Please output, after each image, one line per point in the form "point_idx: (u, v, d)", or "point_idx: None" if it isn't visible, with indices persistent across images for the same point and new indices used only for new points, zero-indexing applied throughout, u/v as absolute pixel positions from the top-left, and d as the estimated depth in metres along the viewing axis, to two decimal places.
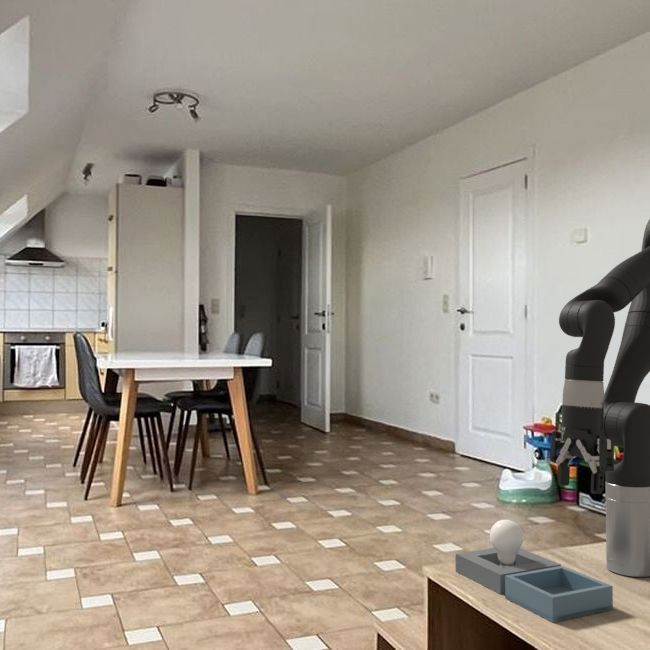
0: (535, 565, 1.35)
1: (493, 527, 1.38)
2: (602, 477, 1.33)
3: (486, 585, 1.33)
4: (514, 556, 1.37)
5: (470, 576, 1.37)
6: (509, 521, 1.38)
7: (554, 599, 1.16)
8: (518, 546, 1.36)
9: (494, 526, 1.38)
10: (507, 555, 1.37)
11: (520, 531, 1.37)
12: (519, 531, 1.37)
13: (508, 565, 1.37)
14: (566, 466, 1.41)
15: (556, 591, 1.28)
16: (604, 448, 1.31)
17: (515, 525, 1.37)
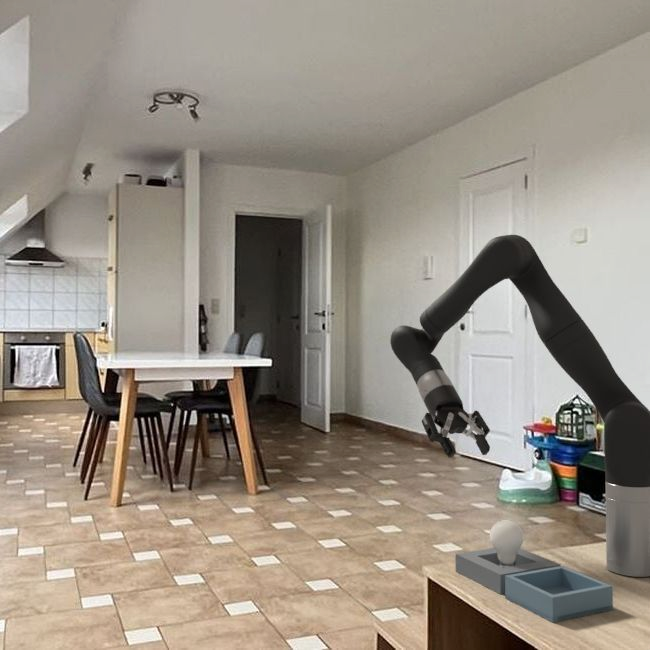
0: (535, 565, 1.35)
1: (493, 527, 1.38)
2: (443, 442, 1.49)
3: (486, 585, 1.33)
4: (514, 556, 1.37)
5: (470, 576, 1.37)
6: (509, 521, 1.38)
7: (554, 599, 1.16)
8: (518, 546, 1.36)
9: (494, 526, 1.38)
10: (507, 555, 1.37)
11: (520, 531, 1.37)
12: (519, 531, 1.37)
13: (508, 565, 1.37)
14: (478, 437, 1.53)
15: (556, 591, 1.28)
16: None
17: (515, 525, 1.37)
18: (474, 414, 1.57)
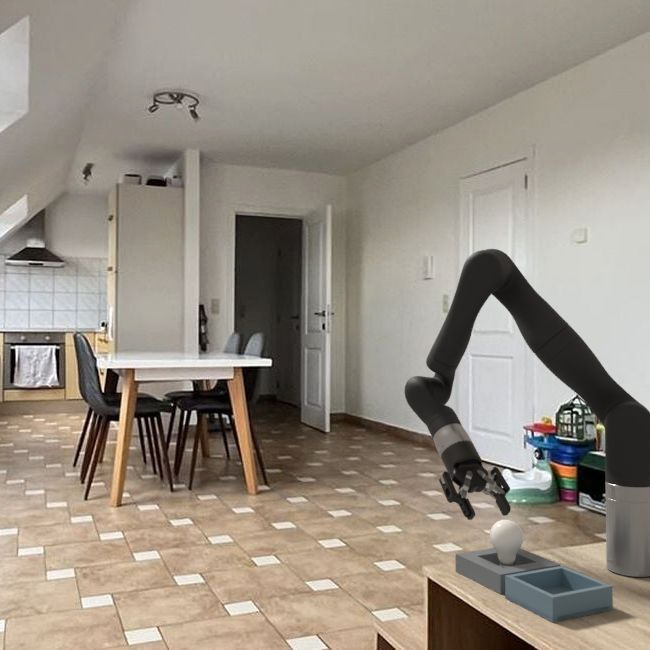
0: (535, 565, 1.35)
1: (493, 527, 1.38)
2: (462, 503, 1.43)
3: (486, 585, 1.33)
4: (514, 556, 1.37)
5: (470, 576, 1.37)
6: (509, 521, 1.38)
7: (554, 599, 1.16)
8: (518, 546, 1.36)
9: (494, 526, 1.38)
10: (507, 555, 1.37)
11: (520, 531, 1.37)
12: (519, 531, 1.37)
13: (508, 565, 1.37)
14: (498, 497, 1.47)
15: (556, 591, 1.28)
16: (441, 485, 1.47)
17: (515, 525, 1.37)
18: (493, 471, 1.51)
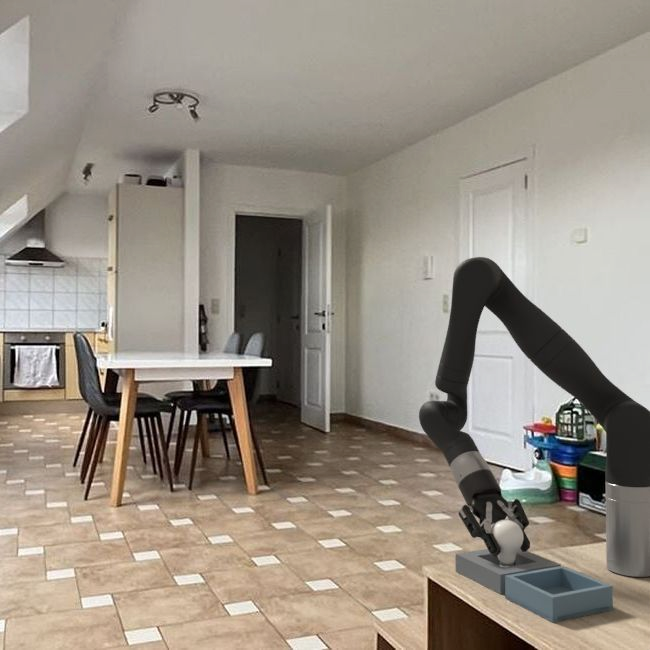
0: (535, 565, 1.35)
1: (493, 527, 1.38)
2: (486, 539, 1.37)
3: (486, 585, 1.33)
4: (514, 556, 1.37)
5: (470, 576, 1.37)
6: (509, 521, 1.38)
7: (554, 599, 1.16)
8: (518, 546, 1.36)
9: (494, 526, 1.38)
10: (507, 555, 1.37)
11: (520, 531, 1.37)
12: (518, 531, 1.37)
13: (508, 565, 1.37)
14: None
15: (556, 591, 1.28)
16: (462, 519, 1.41)
17: (515, 525, 1.37)
18: (514, 503, 1.45)
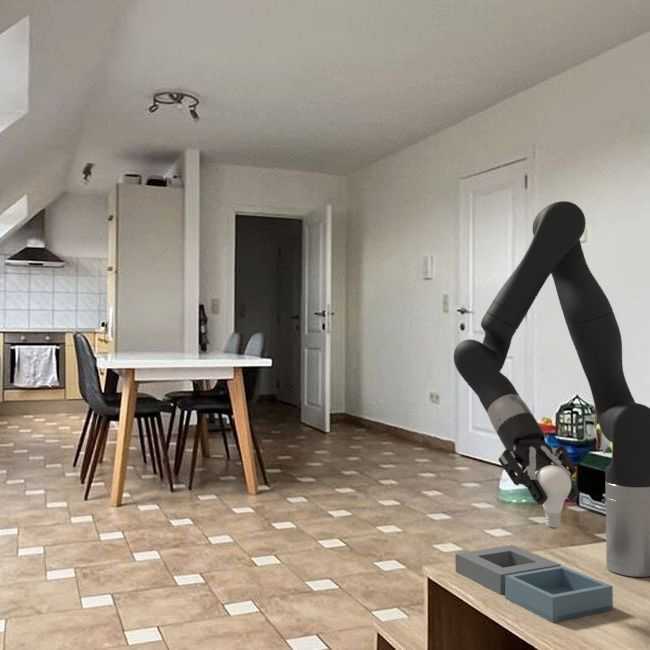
0: (535, 565, 1.35)
1: (537, 473, 1.25)
2: (531, 486, 1.24)
3: (486, 585, 1.33)
4: (561, 505, 1.24)
5: (470, 576, 1.37)
6: (555, 466, 1.25)
7: (554, 599, 1.16)
8: (566, 493, 1.23)
9: (539, 472, 1.25)
10: (554, 503, 1.24)
11: (568, 477, 1.24)
12: (566, 477, 1.24)
13: (555, 515, 1.24)
14: None
15: (556, 591, 1.28)
16: (503, 466, 1.28)
17: (562, 471, 1.24)
18: (559, 449, 1.32)
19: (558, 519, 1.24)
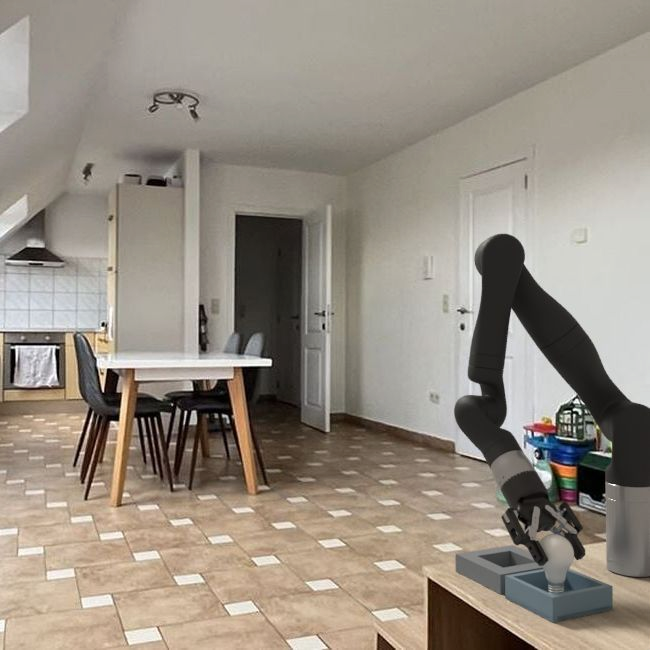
0: (535, 565, 1.35)
1: (540, 543, 1.25)
2: (531, 546, 1.23)
3: (486, 585, 1.33)
4: (564, 575, 1.23)
5: (470, 576, 1.37)
6: (557, 536, 1.24)
7: (554, 599, 1.16)
8: (569, 564, 1.22)
9: (541, 542, 1.25)
10: (557, 574, 1.23)
11: (570, 547, 1.23)
12: (569, 546, 1.23)
13: (558, 585, 1.23)
14: (570, 537, 1.27)
15: None
16: (505, 524, 1.27)
17: (565, 540, 1.24)
18: (562, 506, 1.31)
19: (561, 589, 1.23)
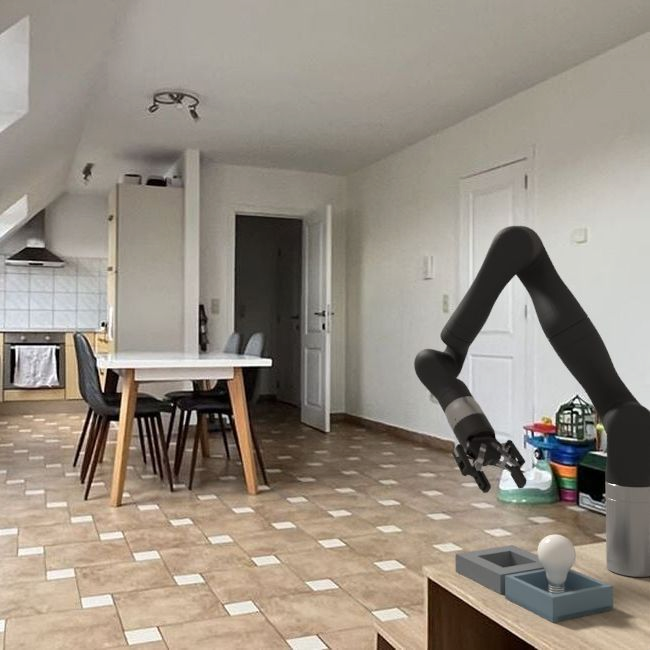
0: (535, 565, 1.35)
1: (542, 543, 1.24)
2: (477, 476, 1.39)
3: (486, 585, 1.33)
4: (565, 576, 1.23)
5: (470, 576, 1.37)
6: (560, 536, 1.24)
7: (554, 599, 1.16)
8: (570, 565, 1.22)
9: (543, 542, 1.24)
10: (558, 574, 1.23)
11: (572, 548, 1.23)
12: (571, 547, 1.23)
13: (558, 585, 1.23)
14: (513, 469, 1.43)
15: None
16: (455, 458, 1.43)
17: (566, 541, 1.23)
18: (507, 444, 1.48)
19: (562, 590, 1.23)
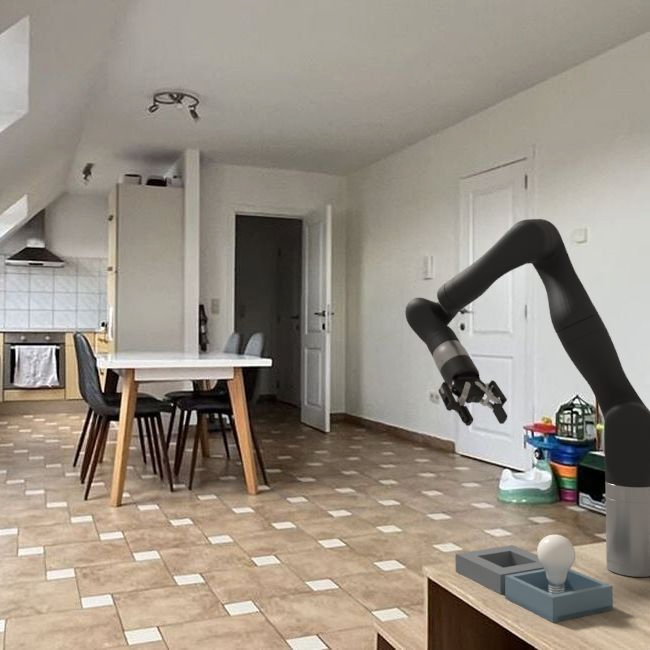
0: (535, 565, 1.35)
1: (541, 543, 1.24)
2: (460, 410, 1.49)
3: (486, 585, 1.33)
4: (565, 576, 1.23)
5: (470, 576, 1.37)
6: (559, 536, 1.24)
7: (554, 599, 1.16)
8: (570, 565, 1.22)
9: (542, 542, 1.24)
10: (557, 574, 1.23)
11: (572, 548, 1.23)
12: (570, 547, 1.23)
13: (558, 586, 1.23)
14: (495, 406, 1.53)
15: None
16: (440, 395, 1.53)
17: (566, 541, 1.23)
18: (491, 384, 1.57)
19: (562, 590, 1.23)
